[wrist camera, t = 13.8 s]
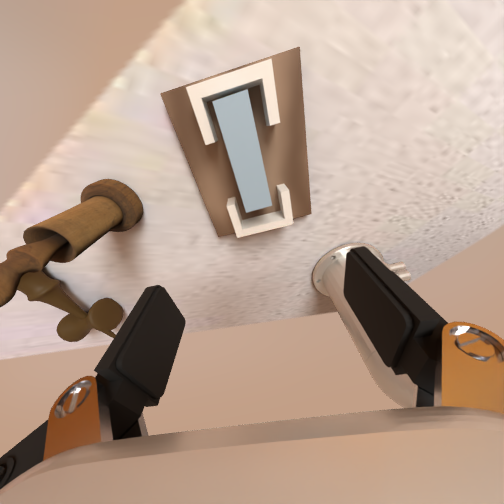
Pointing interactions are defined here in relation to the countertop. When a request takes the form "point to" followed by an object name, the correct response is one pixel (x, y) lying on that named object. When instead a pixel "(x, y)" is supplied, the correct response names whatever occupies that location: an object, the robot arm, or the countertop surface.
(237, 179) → the light blue rectangular block
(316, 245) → the countertop surface
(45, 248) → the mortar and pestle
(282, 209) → the end caps
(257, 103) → the board
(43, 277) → the kendama
